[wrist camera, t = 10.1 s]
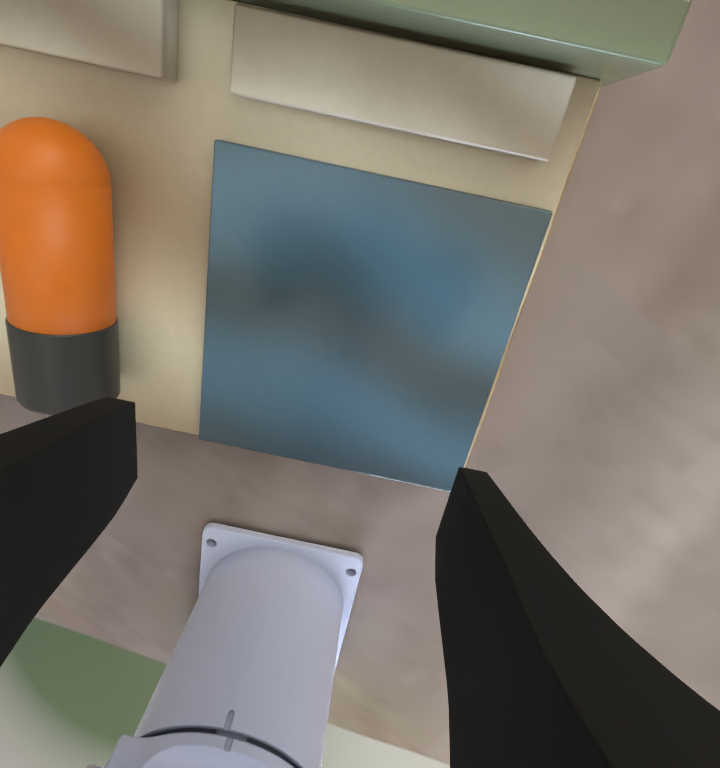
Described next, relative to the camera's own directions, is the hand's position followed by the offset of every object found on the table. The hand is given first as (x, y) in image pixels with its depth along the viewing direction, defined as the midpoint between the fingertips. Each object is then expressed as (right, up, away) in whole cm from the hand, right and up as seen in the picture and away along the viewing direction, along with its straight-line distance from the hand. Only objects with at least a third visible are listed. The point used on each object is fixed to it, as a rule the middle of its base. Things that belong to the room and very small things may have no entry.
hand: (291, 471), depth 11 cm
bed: (-3, +8, +7) cm, 11 cm away
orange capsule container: (-9, +6, +5) cm, 12 cm away
